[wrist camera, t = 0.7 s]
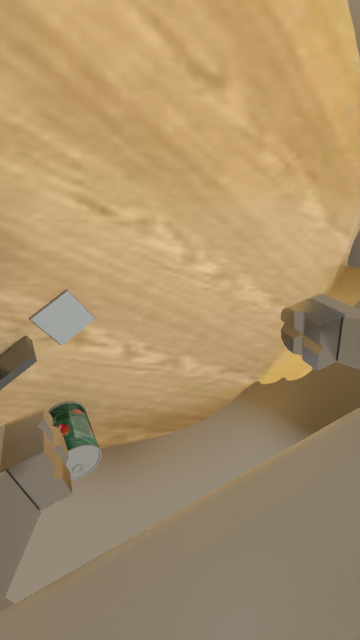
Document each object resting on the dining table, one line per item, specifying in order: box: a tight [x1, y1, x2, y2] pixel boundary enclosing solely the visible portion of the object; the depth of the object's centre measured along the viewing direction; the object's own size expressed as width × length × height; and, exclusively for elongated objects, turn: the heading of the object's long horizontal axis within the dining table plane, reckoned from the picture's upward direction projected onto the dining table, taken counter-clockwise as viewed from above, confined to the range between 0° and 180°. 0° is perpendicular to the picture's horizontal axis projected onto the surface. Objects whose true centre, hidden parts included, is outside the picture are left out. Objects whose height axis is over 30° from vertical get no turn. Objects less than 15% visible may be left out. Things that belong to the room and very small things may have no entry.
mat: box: [30, 290, 95, 345], centre depth 48 cm, size 7×7×1 cm
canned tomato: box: [48, 402, 101, 480], centre depth 54 cm, size 8×8×11 cm
